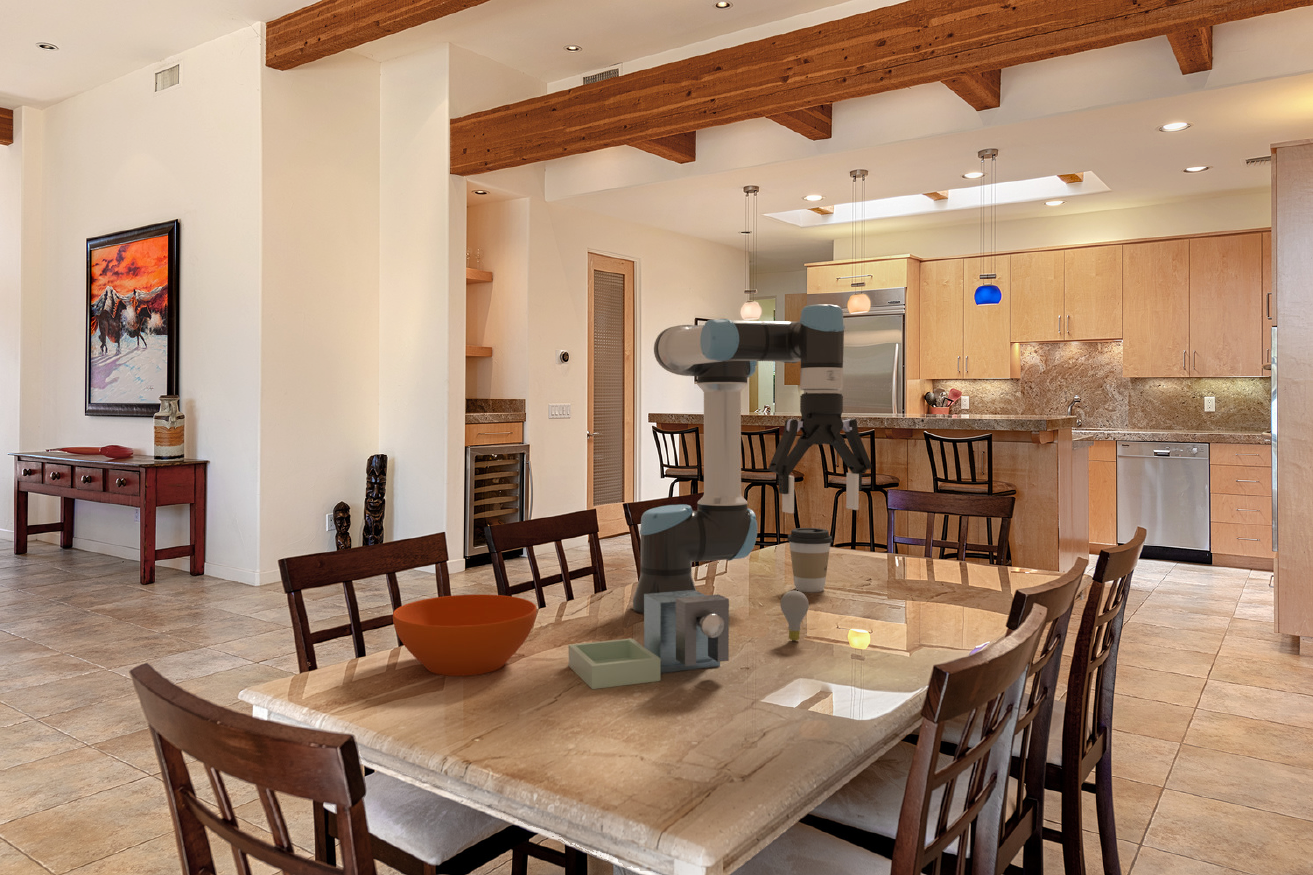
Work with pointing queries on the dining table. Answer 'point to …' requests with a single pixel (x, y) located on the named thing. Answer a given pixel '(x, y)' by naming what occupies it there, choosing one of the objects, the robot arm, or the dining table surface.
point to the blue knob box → (664, 631)
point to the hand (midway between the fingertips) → (820, 510)
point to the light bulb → (794, 611)
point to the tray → (614, 663)
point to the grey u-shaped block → (687, 627)
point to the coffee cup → (809, 558)
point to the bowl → (464, 631)
